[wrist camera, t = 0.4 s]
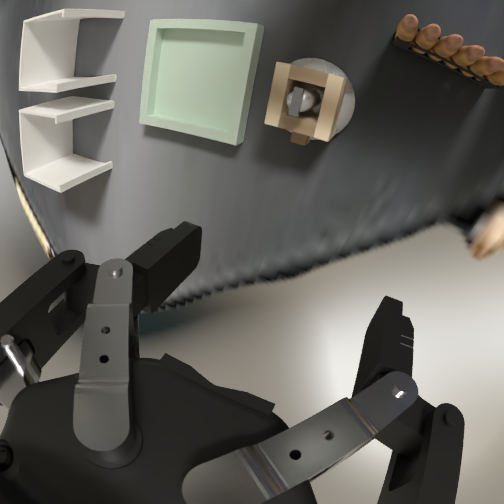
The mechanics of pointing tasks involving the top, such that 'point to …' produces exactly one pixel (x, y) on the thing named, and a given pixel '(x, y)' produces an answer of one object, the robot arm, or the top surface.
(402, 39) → the ammunition clip
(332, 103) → the brown wooden frame
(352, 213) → the top surface
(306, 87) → the grey round stand
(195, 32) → the tray
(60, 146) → the storage container
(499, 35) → the top surface
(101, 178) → the top surface
